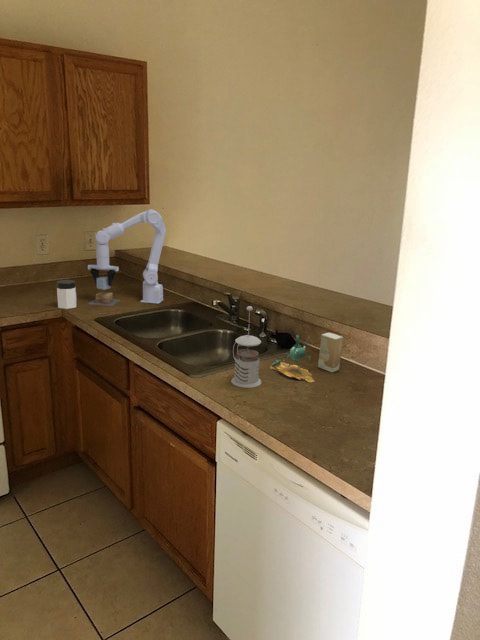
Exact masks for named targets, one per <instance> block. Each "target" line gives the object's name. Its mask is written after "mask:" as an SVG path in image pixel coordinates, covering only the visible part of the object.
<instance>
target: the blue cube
mask: <svg viewBox="0 0 480 640" xmlns="http://www.w3.org/2000/svg"><path fill="white" fill-rule="evenodd" d="M96 281H97V285H96V289H99V290H103V291H105V290H108V289H111V288H112V287H111V286H112V285H111V286H109V279H108V276H105V275H104V276H99V278H96Z"/></svg>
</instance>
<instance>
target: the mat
mask: <svg viewBox="0 0 480 640" xmlns="http://www.w3.org/2000/svg"><path fill="white" fill-rule="evenodd" d="M120 301H121V299H115V298H113V301H112V302H110V303H109V304H103V303H96V298H95V299H94V300H92V301H90V302H88V303H87V305H95V306H104V307H107V306H108V307H109V306H110V307H113V306H114V305H115V304H117V303H118V302H120Z"/></svg>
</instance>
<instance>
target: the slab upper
mask: <svg viewBox="0 0 480 640" xmlns="http://www.w3.org/2000/svg"><path fill="white" fill-rule="evenodd" d="M113 295H114V294H113V292H108V291H107V292H106V291H100V292H98V293H96V294H95V299H104V300H108V299H110V298H112V297H113V298H114V296H113Z"/></svg>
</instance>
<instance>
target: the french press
mask: <svg viewBox="0 0 480 640" xmlns="http://www.w3.org/2000/svg"><path fill="white" fill-rule="evenodd" d="M253 309H254V308H253V306H250V305H249V306H246V311H248V312H249V313H248V322H250V321H251V320H250V319H251V318H250V316H251V315H250V314H251V311H253ZM247 331H248V332H247V334H246V335H241V336H239V337H237V338H236V339H235V340H234V341H235V342H234V344H233V347H232V354H233V358H234V376H233V377H232V378H231V381H230V383H231V384H232V385H233V386H236V387H239V388H247V389H248V388H250V389H251V388H257V387H259V386H260V385H261V384H262V380H261V379H260V378H259V377H260V376H259V375H260V374H259V373H260V362H261V361H260V360H261V359H260V356H259V355H260V353H259V351H257V350H254V349H249V347H256V346H259V345H260V344H261V343H262V341H261V339H260V338H259V337H257V336H254V335H250V325H248V330H247ZM236 344H237V346H236V347H237V348H236V355H235V353H234V352H235V351H234V350H235V345H236ZM241 346H244V347H247V348H245V349H239V347H241Z"/></svg>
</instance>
